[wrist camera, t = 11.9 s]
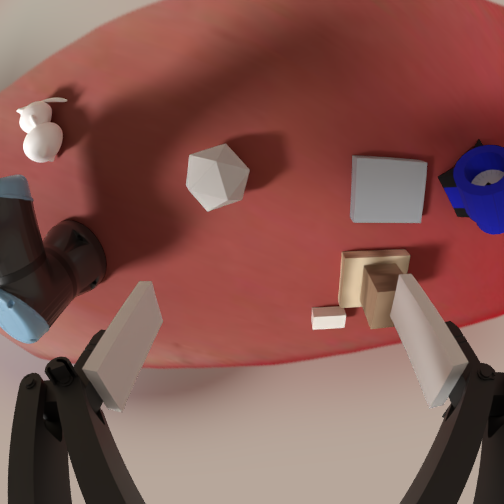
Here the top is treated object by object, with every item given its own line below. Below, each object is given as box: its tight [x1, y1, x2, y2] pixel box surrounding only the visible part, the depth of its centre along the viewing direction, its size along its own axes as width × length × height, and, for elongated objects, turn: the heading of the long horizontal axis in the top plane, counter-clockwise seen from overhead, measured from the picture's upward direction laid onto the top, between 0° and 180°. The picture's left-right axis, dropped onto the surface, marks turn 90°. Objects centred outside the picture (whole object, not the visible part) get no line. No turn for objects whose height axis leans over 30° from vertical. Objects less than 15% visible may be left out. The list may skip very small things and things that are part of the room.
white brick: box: [311, 306, 346, 330], centre depth 53 cm, size 6×3×3 cm, turn 94°
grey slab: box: [350, 155, 427, 223], centre depth 42 cm, size 12×10×3 cm
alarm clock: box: [438, 139, 504, 234], centre depth 33 cm, size 12×12×15 cm
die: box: [186, 144, 250, 212], centre depth 40 cm, size 8×9×10 cm
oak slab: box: [338, 249, 410, 308], centre depth 49 cm, size 12×10×3 cm
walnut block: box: [360, 263, 403, 329], centre depth 44 cm, size 6×7×8 cm
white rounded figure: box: [17, 98, 67, 162], centre depth 38 cm, size 9×11×12 cm
